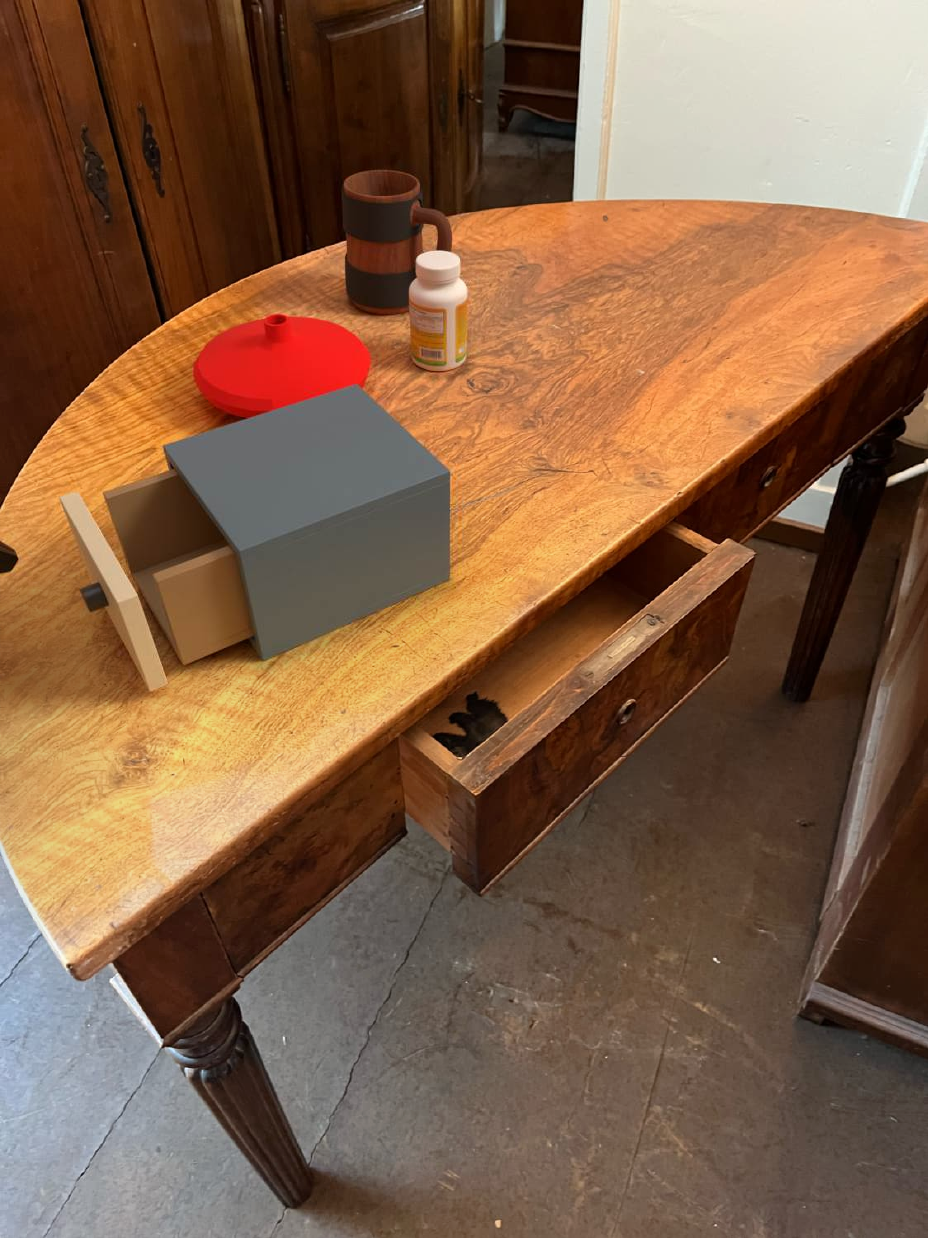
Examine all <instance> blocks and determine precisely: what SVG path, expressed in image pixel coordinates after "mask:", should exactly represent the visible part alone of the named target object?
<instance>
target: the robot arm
mask: <svg viewBox="0 0 928 1238" xmlns="http://www.w3.org/2000/svg"><path fill="white" fill-rule="evenodd" d="M19 560H20V559H19V556H18V553H17V552H16V550H15V549H14V548H13V547H11V546H9V545H8V544H6V543H4V542H3V541H2V540H0V575H2V574H7V573H10V572H12V571H13V570H14V568H15V567H16V565H17V563H18V562H19Z"/></svg>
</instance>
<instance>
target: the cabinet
mask: <svg viewBox="0 0 928 1238" xmlns="http://www.w3.org/2000/svg"><path fill="white" fill-rule="evenodd" d="M162 449H163V453H164V456H165V460H166V465H167V468H168V471H169V470H172V469H175V470H176V471H177V472H178V474H179V475H180V477H181V478H182V479H183V481H184V482H185V483H186V485H187V486H188V488H189V489H190V490H191V492H192V493H193V495H194V496H195V497H196V499H197V500H198V501H199V503H200V504H201V506H202V507H203V508H204V510H205V511H206V513H207V514H208V515H209V517H210V518H211V520H212V521H213V522H214V524H215V525H216V526H217V528H218V529H219V531H220V532H221V533H222V535H223V536H224V538H225V539H226V540H227V542H228V543H229V544H230V546H231V547H232V549H233V550H234V551H235V553H236V556H237V560H238V565H239V569H240V574H241V578H242V583H243V587H244V591H245V596H246V600H247V605H248V609H249V614H250V618H251V623H252V627H253V632H254V636H252V637H250V638H247V640H248V641H249V642H250V643H251V645H252V646H253V648H254V650H255V651H256V652H257V655H259V657H260V659H261V660H262V661H263V662H265V661H267V660H269V659H271V658H274V657H276V656H279V655H281V654H284V653H286V652H288V651H290V650H292V649H295V648H296V647H300V646H301V645H304V644H307V643H308V642H311V641H313V640H316V639H317V638H319V637H322V636H324V635H326V634H329V633H331V632H334V631H336V630H338V629H341V628H343V627H345V626H347V625H349V624H352V623H354V622H357V621H359V620H361V619H363V618H365V617H367V616H370V615H373V614H375V613H377V612H380V611H382V610H384V609H387V608H389V607H391V606H393V605H396V604H398V603H399V602H402V601H404V600H407V599H409V598H411V597H414V596H416V595H418V594H421V593H424V592H425V591H427V590H429V589H432V588H434V587H436V586H438V585H442V584H443V583H446V582H449V581H450V580H451V572H450V571H451V470H450V469H449V468H448V467H447V466H445V465H444V463H442V462H441V460H439V459H438V458H437V457H436V456H435V455H434V454H433V453H432V452H431V451H429V449H427V448H426V447H425V446H424V445H423V444H422V443H421V442H420V441H419V440H418V439H417V438H416V437H415V436H413V435H412V434H411V432H409V431H408V430H407V429H406V428H405V427H404V426H402V425H401V423H400V422H399V421H398V420H396V419H395V418H394V417H393V416H392V415H391V414H390V413H388V411H386V410H385V409H384V408H383V407H382V406H381V404H379V403H378V402H377V401H376V400H375V399H374V398H373V397H371V396H370V395H369V394H368V393H367V392H366V391H365V390H364V389H363V387H362V388H360V387H359V386H358V385H357V384H355V385H352V386H348V387H345V388H342V389H339V390H336V391H333V392H330V393H326V394H323V395H320V396H317V397H314V398H311V399H307V400H304V401H301V402H298V403H295V404H292V405H289V406H285V407H282V408H279V409H276V410H273V411H270V412H267V413H263V414H260V415H257V416H254V417H251V418H245V419H241V420H238V421H236V422H235V421H234V422H232V423H228V424H226V425H223V426H222V425H221V426H220V427H219V426H218V427H216V428H213V429H210V430H207V431H204V432H201V433H198V434H194V435H191V436H188V437H185V438H181V439H179V440H176V441H172V442H169V443H167V444H166V443H165V444H163V445H162Z"/></svg>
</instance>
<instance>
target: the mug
mask: <svg viewBox="0 0 928 1238" xmlns="http://www.w3.org/2000/svg"><path fill="white" fill-rule="evenodd" d="M341 201H342V202H341V204H342V205H341V206H342V228H343V231H344V232H345V241H346V242H345V243H346V253H345V254H344V281H345V282H344V283H345V292H346V295H347V297H348V299H350V301H351V302H352V304H353V305H354V306H355V307H356V308H358V309H359V310H361V311H363V312H366V313H371V314H376V315H397V314H402V313H407V312H410V309H409V287H410V285H411V283H412V282H413V281H414V280H415V279H416V278H417V276H416V258H417V257H418V256H419V255H420V254H422V253H425V251H424V242H423V229H424V227H425V225H429V226H430V225H431V226H434V227H435V228H436V233H437V238H436V239H437V240H436V241H437V242H436V249H435V251H447V252H451V253H452V248H453V230H452V227H451V223H450V221H449V219H448V217H447V216H446V215H445V214H444V213H443V212H441V211H439V210H437V209H434V208H427V207H426V208H425V207H424V203H423V186H422V185H421V183H420V181H419V179H418V178H417V177H415V176H413V175H412V174H409V173H406V172H402V171H397V170H392V169H391V170H390V169H374V170H366V171H360V172H357V173H354V174H352V175H349V176H347V178H346V179H345V180H344V181H343V184H342V185H341Z"/></svg>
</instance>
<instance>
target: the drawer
mask: <svg viewBox="0 0 928 1238" xmlns="http://www.w3.org/2000/svg"><path fill="white" fill-rule="evenodd" d="M102 495H103V498H104V502H105V504H106V507H107V510H108V513H109V516H110V519H111V521H112V524H113V527H114V530H115V533H116V536H117V539H118V542H119V545H120V548H121V550H122V553H123V556H124V559H125V563H126V566H127V568H128V571H129V574H130V576H131V578H132V580H133V582H134V583H135V585H136V587H137V588H138V590H139V592H140V593H141V595H142V597H143V599H144V600H145V602H146V604H147V606H148V608H149V609H150V611H151V612H152V614H153V616H154V617H155V619H156V621H157V623H158V624H159V626H160V628H161V630H162V631H163V633H164V635H165V637H166V638H167V640H168V641H169V644H170V645H171V647H172V649H173V650H174V653H176V655H177V658H178V659H179V660H180V662H181V664H182V665H183V666H186V665H188V664H190V663H193V662H195V661H198V660H199V659H203V658H204V657H207V656H209V655H211V654H212V655H213V653H216V652H219V651H221V650H223V649H224V650H225V649H226V648H228V647H230V646H234V645H235V644H237V643H240V642H243V641H244V640H248V638H250V637H252V636H254V632H253V627H252V623H251V618H250V614H249V609H248V605H247V600H246V596H245V591H244V587H243V583H242V578H241V574H240V569H239V565H238V560H237V556H236V553H235V551H234V550H233V549H232V547H231V546H230V544H229V543H228V542H227V540H226V539H225V538H224V536H223V535H222V533H221V532H220V531H219V529H218V528H217V526H216V525H215V524H214V522H213V521H212V520H211V518H210V517H209V515H208V514H207V513H206V511H205V510H204V508H203V507H202V506H201V504H200V503H199V501H198V500H197V499H196V497H195V496H194V495H193V493H192V492H191V490H190V489H189V488H188V486H187V485H186V483H185V482H184V481H183V479H182V478H181V477H180V475H179V474H178V472H177V471H176V470H175V469H172V470H169V469H168V470H166V471H163V472H159V473H157V474H154V475H151V476H147V477H145V478H141V479H138V480H136V481H133V482H129V483H126V484H124V485H120V486H117V487H114V488H111V489H109V490H105V491H103V492H102ZM58 499H59V502H60V504H61V507H62V509H63V512H64V514H65V517H66V520H67V522H68V525H69V527H70V530H71V533H72V535H73V538H74V541H75V543H76V545H77V548H78V551H79V552H80V555H81V558H82V560H83V563H84V566H85V568H86V571H87V573H88V576H89V578H90V581H91V584H88V585H85V586H84V587H81V588H79V592H80V595H81V597H82V600H83V602H84V604H85V606H86V608H87V610H88V612H89V613H93V612H96V611H99V610H102V609H105V610H106V613H107V614H108V616H109V618H110V620H111V622H112V624H113V626H114V628H115V629H116V631H117V633H118V635H119V637H120V639H121V640H122V643H123V644H124V646H125V648H126V651H127V652H128V654H129V656H130V657H131V659H132V662H133V663H134V665H135V666H136V669H137V671H138V672H139V674H140V677H141V678H142V680H143V682H144V684H145V686H146V688H147V690H148V691H149V692H151V693H152V692H153V691H156V690H158V689H160V688H163V687H165V686H167V685H168V684H169V682H168V679H167V676H166V673H165V670H164V667H163V663H162V661H161V659H160V656H159V653H158V650H157V646H156V644H155V641H154V638H153V635H152V633H151V630H150V627H149V623H148V621H147V618H146V614H145V611H144V609H143V606H142V603H141V600H140V597H139V595H138V593H137V591H136V590H135V587H134V586H133V584H132V583H131V581H130V579H129V578H128V576H127V574H126V573H125V571H124V569H123V567H122V565H121V564H120V562H119V560H118V558H117V556H116V554H115V553H114V552H113V549H112V548H111V546H110V544H109V542H108V541H107V539H106V537H105V535H104V534H103V532H102V531H101V529H100V527H99V525H98V524H97V522H96V521H95V519H94V517H93V515H92V513H91V512H90V509H89V508H88V506H87V504H86V503H85V501H84V499H83V498H82V496H81V494H80V493H79V491H78V490H76V491H73V492H71V493H67V494H64V495H61V496H59V497H58Z"/></svg>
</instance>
